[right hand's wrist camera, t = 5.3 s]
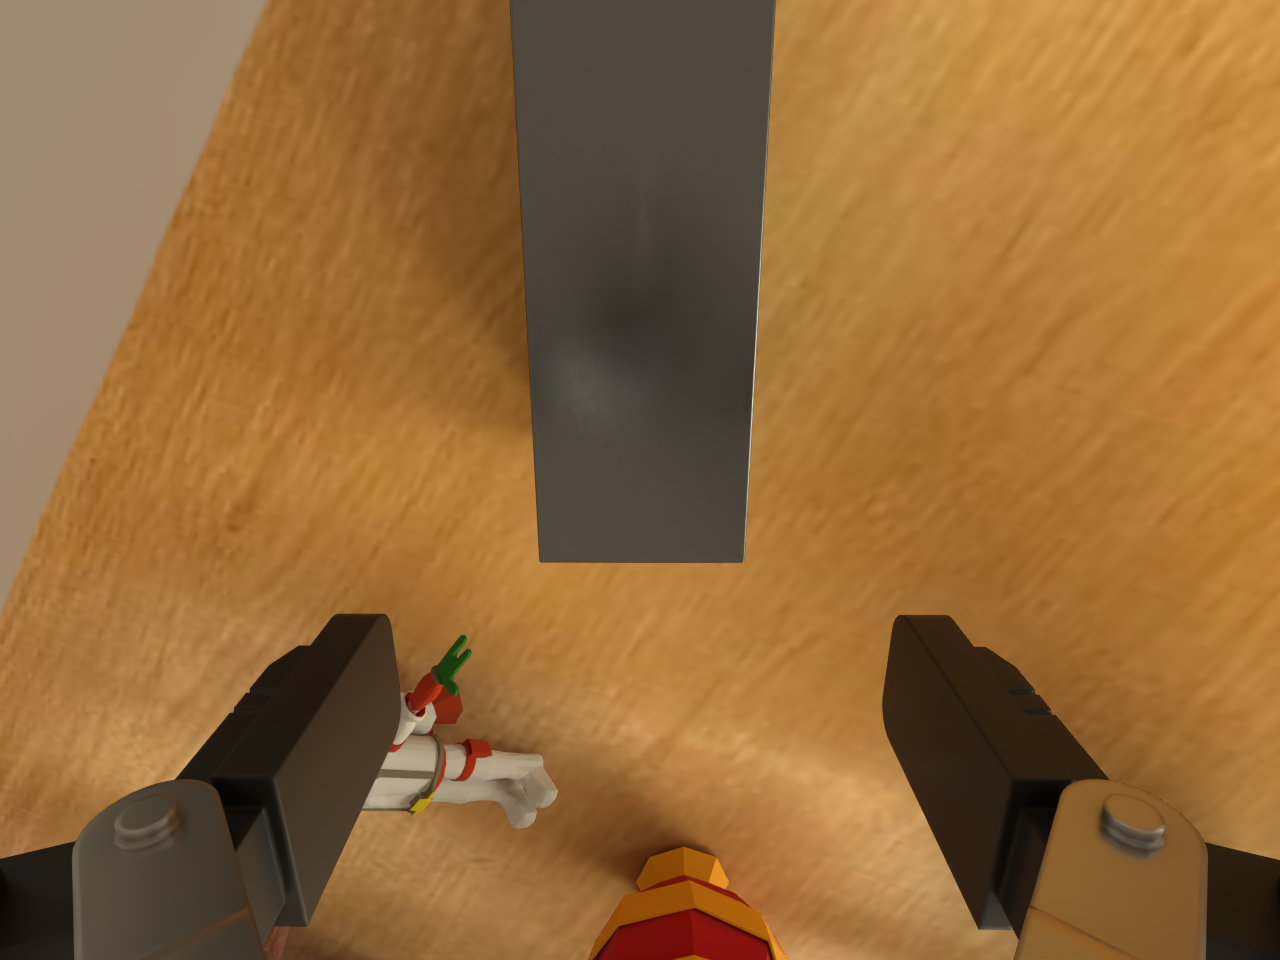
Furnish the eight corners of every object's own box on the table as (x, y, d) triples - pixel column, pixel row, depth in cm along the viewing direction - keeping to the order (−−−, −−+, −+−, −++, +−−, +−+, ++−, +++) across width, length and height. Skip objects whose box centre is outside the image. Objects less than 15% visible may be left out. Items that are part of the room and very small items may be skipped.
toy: (451, 907, 39) (136, 941, 29) (426, 797, 43) (144, 793, 33) (645, 710, 34) (353, 667, 24) (594, 611, 39) (330, 538, 29)
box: (710, 446, 32) (744, 563, 22) (574, 446, 32) (539, 563, 22) (729, -98, 26) (795, -334, 15) (556, -98, 26) (491, -334, 15)
